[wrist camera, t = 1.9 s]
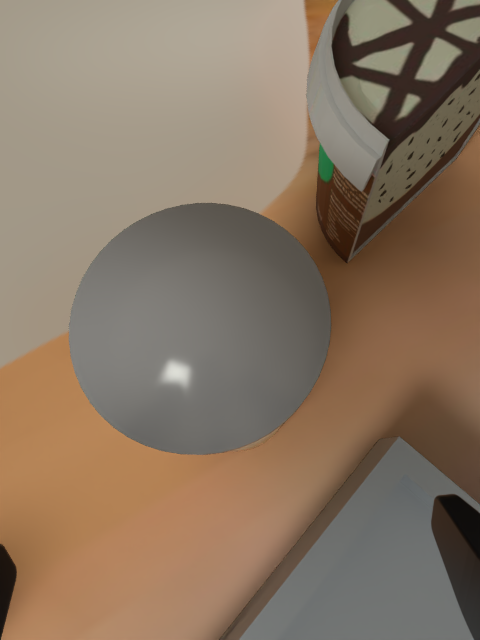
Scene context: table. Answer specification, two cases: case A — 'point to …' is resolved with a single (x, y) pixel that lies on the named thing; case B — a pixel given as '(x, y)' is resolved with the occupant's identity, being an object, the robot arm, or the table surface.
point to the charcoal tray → (365, 562)
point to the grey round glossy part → (200, 329)
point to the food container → (389, 108)
